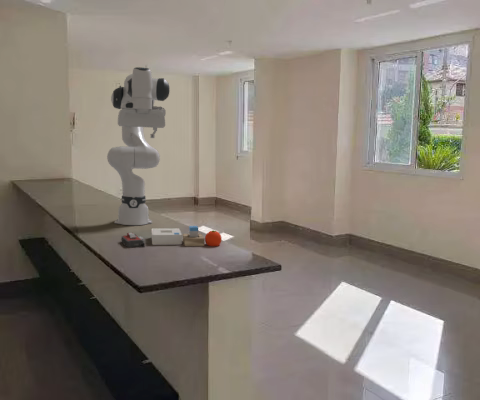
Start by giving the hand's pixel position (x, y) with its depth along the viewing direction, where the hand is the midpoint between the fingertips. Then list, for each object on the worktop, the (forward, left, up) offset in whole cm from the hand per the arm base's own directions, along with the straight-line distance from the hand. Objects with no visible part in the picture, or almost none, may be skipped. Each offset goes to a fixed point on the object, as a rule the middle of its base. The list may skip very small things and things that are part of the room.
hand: (141, 137), depth 214 cm
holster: (+18, +21, -44) cm, 52 cm away
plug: (+18, +21, -43) cm, 51 cm away
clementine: (+21, +29, -44) cm, 57 cm away
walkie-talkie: (+11, -4, -45) cm, 46 cm away
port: (+13, +10, -44) cm, 47 cm away
